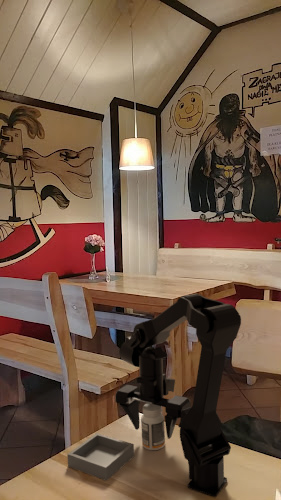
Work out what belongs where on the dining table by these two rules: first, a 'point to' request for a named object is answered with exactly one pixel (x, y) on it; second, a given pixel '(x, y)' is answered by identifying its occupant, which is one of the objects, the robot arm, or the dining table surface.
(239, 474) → the dining table surface
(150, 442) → the pill bottle
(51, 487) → the dining table surface
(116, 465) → the tray
